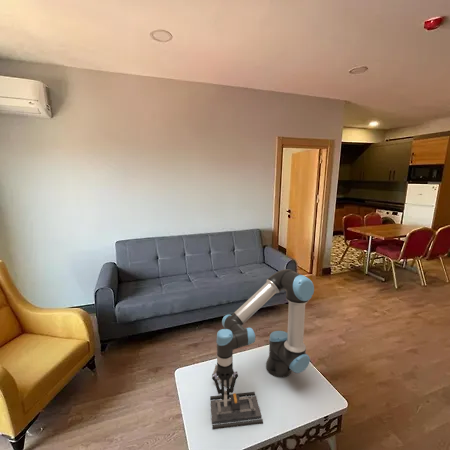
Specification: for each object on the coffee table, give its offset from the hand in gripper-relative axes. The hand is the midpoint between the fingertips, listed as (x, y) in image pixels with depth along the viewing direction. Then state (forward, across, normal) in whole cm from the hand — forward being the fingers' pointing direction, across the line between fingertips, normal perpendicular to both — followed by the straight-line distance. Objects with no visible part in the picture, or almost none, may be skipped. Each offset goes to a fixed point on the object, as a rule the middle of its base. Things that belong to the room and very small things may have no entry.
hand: (225, 404), depth 129 cm
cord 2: (+4, -5, +8) cm, 10 cm away
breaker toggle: (+3, -5, 0) cm, 6 cm away
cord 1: (+4, -5, -8) cm, 11 cm away
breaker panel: (+4, -5, 0) cm, 7 cm away
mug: (+5, -1, -19) cm, 19 cm away
